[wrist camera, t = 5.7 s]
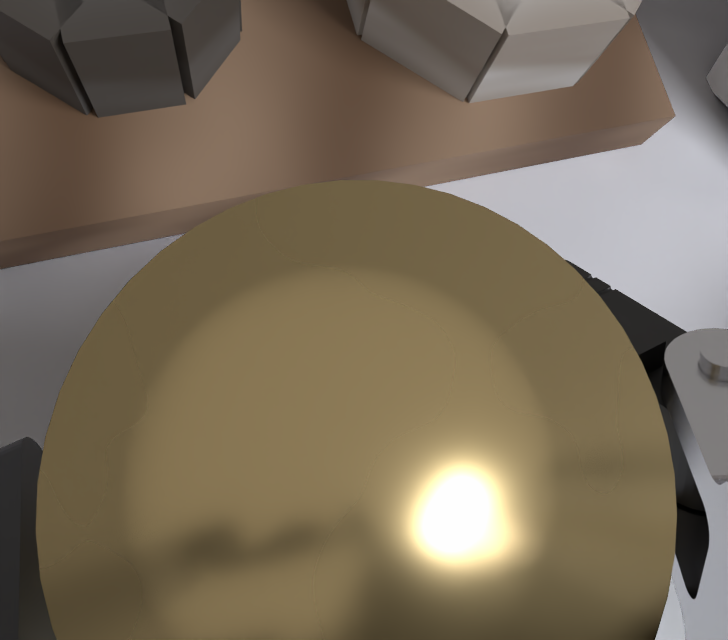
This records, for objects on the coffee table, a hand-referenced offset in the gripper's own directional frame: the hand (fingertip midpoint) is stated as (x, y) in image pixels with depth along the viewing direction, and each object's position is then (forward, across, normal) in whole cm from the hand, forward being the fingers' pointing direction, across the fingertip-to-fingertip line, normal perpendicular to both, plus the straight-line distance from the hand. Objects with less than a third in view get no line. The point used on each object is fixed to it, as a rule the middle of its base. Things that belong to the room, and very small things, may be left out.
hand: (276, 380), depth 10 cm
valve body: (+2, 0, +4) cm, 5 cm away
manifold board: (+9, -5, -3) cm, 11 cm away
